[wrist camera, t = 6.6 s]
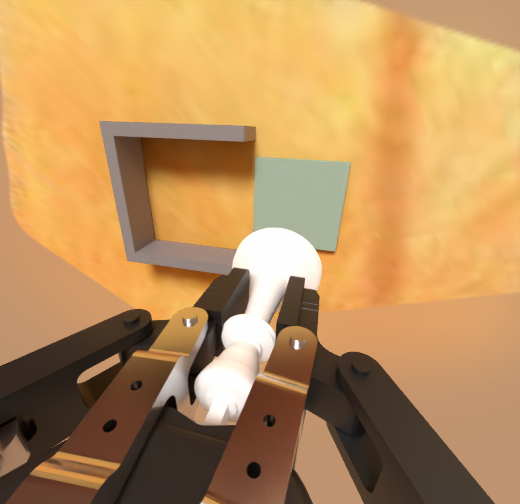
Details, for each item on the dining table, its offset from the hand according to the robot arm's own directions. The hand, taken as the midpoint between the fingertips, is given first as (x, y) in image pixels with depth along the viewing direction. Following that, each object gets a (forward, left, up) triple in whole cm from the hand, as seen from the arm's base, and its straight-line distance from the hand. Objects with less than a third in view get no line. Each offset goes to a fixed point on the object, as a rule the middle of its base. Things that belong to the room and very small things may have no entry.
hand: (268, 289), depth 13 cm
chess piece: (0, 0, -2) cm, 2 cm away
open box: (+11, 0, -16) cm, 20 cm away
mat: (0, 0, -16) cm, 16 cm away
